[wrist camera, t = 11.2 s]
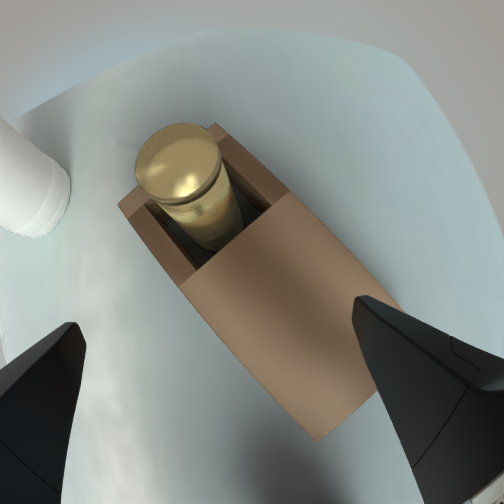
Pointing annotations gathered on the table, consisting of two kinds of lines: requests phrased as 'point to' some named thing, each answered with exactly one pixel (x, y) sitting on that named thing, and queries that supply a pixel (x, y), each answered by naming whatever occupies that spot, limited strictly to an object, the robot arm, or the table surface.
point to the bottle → (29, 186)
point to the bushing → (190, 183)
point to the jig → (275, 294)
